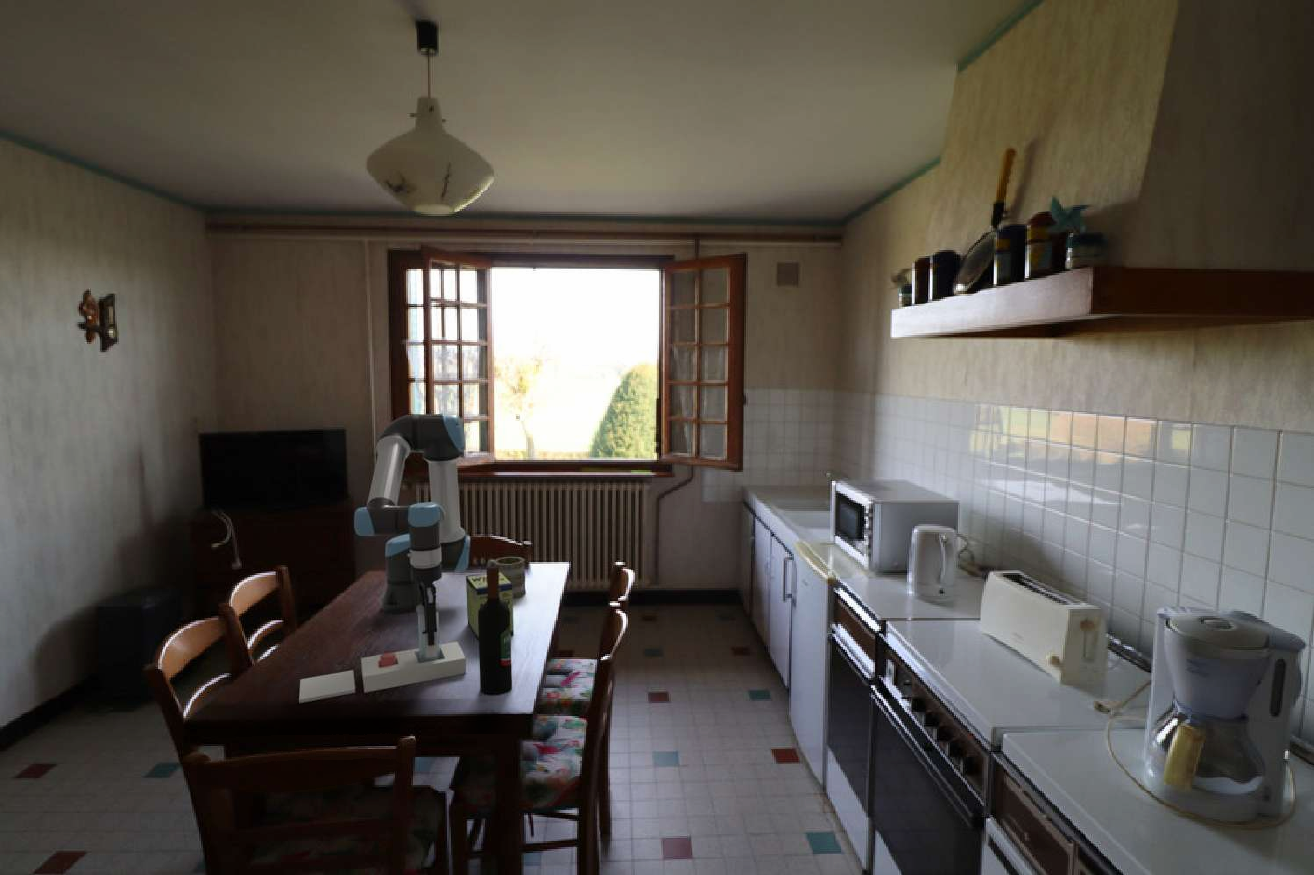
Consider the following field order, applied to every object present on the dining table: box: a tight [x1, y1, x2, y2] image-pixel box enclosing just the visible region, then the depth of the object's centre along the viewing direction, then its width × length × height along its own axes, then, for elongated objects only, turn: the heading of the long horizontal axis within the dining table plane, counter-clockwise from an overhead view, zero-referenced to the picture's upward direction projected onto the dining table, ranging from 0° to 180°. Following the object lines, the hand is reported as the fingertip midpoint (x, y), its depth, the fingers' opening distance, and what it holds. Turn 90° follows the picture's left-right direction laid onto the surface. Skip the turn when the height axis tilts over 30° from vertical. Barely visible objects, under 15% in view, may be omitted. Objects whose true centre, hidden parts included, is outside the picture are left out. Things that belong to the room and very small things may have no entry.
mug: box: [486, 556, 527, 600], centre depth 240 cm, size 16×11×12 cm
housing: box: [360, 641, 467, 693], centre depth 177 cm, size 12×24×4 cm, turn 116°
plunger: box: [380, 652, 396, 667], centre depth 174 cm, size 4×4×4 cm
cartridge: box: [415, 602, 440, 663], centre depth 178 cm, size 6×6×17 cm
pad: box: [298, 669, 356, 704], centre depth 169 cm, size 12×12×1 cm
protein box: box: [465, 572, 515, 642], centre depth 206 cm, size 10×16×16 cm
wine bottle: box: [478, 565, 513, 696], centre depth 167 cm, size 8×8×30 cm
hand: (429, 652), depth 178 cm, fingers closed on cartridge, 5 cm apart
